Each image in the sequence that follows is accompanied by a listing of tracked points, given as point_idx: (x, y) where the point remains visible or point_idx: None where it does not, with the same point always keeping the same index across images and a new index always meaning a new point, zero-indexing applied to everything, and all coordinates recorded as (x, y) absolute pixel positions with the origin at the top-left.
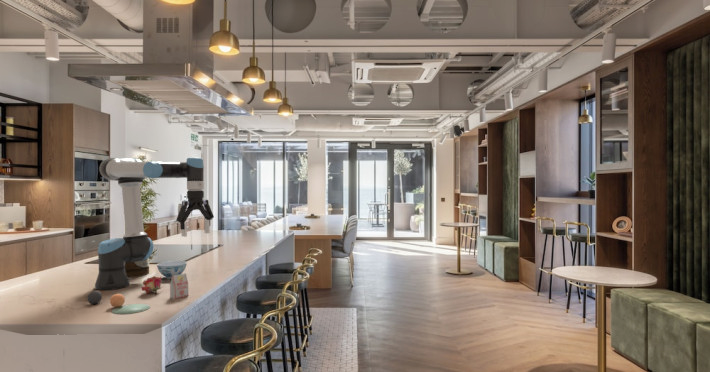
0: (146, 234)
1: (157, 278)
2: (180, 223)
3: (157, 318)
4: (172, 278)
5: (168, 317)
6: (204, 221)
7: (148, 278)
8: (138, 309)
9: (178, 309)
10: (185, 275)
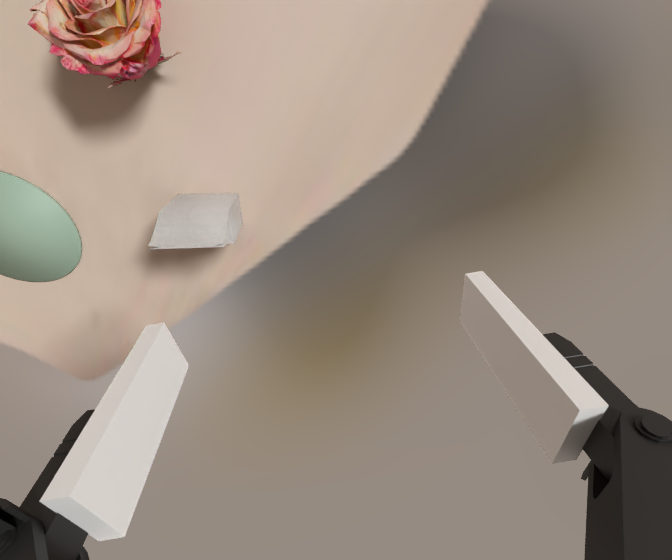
0: None
1: (116, 67)
2: (25, 504)
3: (86, 358)
4: (155, 239)
5: (114, 367)
6: (556, 384)
7: (55, 32)
8: (38, 259)
9: None
10: (221, 244)
